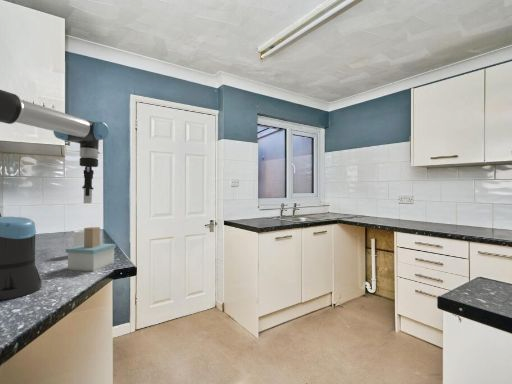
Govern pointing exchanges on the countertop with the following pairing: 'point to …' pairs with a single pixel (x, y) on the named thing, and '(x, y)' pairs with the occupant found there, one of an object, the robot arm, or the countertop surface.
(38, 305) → the countertop surface
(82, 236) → the mug
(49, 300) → the countertop surface
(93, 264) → the tub
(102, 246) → the lid
